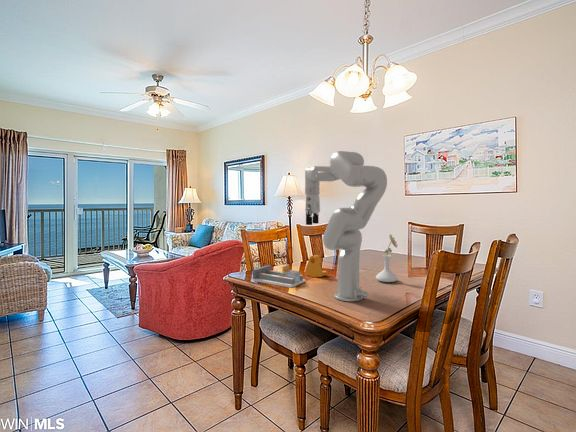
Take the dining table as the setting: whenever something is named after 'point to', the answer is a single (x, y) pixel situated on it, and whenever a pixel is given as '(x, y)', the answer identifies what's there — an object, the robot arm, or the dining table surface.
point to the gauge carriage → (290, 273)
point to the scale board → (274, 277)
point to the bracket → (315, 267)
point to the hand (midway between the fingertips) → (312, 224)
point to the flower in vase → (387, 266)
